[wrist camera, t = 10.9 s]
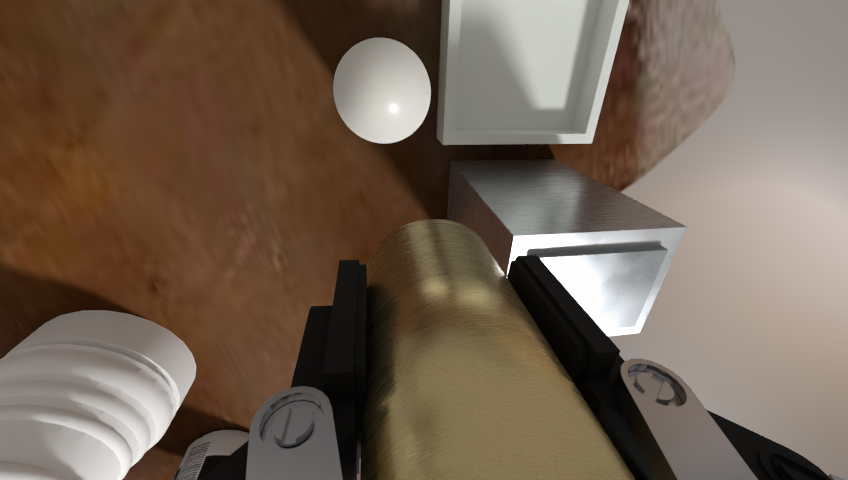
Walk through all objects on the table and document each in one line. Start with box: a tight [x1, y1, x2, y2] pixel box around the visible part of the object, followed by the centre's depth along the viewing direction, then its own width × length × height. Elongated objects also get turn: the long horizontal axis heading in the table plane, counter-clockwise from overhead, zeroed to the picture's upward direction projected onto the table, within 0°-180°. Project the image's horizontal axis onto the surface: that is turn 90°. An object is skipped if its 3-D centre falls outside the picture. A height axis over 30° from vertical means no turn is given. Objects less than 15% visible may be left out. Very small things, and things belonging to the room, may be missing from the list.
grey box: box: [447, 159, 687, 336], centre depth 23 cm, size 7×9×13 cm
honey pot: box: [0, 310, 196, 480], centre depth 23 cm, size 13×13×18 cm
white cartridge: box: [333, 38, 431, 144], centre depth 19 cm, size 4×4×9 cm
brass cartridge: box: [361, 219, 636, 480], centre depth 7 cm, size 4×4×9 cm
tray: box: [436, 0, 629, 145], centre depth 22 cm, size 11×11×2 cm
